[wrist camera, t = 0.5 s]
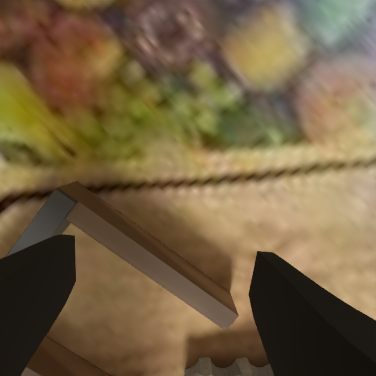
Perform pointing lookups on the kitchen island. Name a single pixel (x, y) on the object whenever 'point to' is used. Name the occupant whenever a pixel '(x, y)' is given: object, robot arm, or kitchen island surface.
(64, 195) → the dock
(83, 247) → the kitchen island surface
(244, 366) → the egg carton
